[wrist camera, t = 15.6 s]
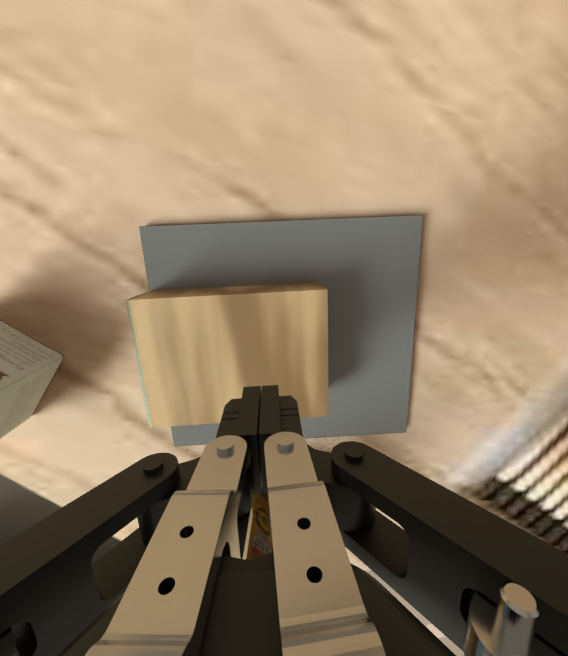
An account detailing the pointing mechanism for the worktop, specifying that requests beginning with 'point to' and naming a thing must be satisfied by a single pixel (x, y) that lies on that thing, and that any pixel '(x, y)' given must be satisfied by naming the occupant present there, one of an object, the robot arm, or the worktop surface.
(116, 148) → the worktop surface
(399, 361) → the mat
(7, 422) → the product box
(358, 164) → the worktop surface
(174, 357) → the block
